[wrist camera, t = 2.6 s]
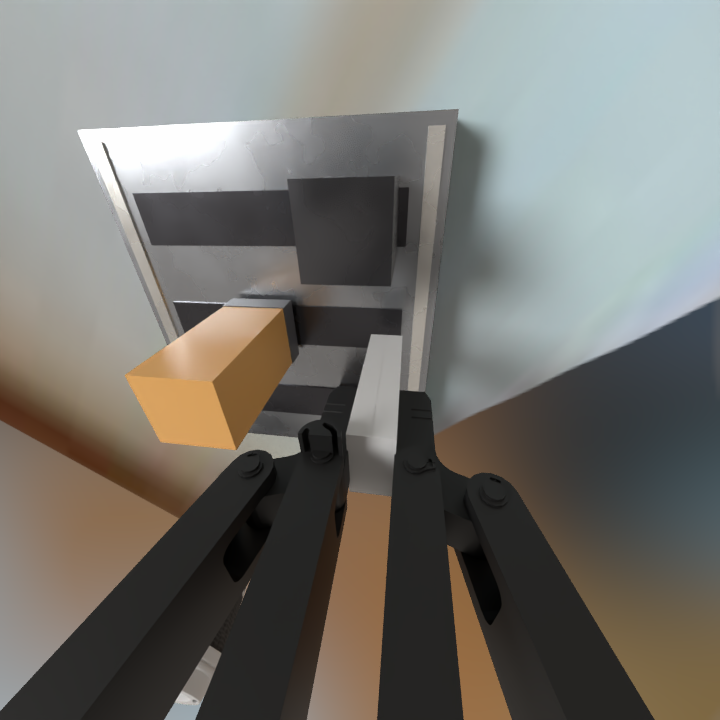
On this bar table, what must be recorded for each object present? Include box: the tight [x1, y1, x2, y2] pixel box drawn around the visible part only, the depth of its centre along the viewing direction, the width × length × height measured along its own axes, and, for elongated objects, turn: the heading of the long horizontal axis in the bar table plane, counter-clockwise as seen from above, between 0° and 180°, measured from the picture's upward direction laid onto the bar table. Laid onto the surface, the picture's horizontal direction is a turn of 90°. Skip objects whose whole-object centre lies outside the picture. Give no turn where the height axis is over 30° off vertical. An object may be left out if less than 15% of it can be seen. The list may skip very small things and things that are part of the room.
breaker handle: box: [125, 298, 299, 450], centre depth 15 cm, size 4×4×8 cm
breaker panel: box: [77, 109, 459, 437], centre depth 17 cm, size 20×18×7 cm
